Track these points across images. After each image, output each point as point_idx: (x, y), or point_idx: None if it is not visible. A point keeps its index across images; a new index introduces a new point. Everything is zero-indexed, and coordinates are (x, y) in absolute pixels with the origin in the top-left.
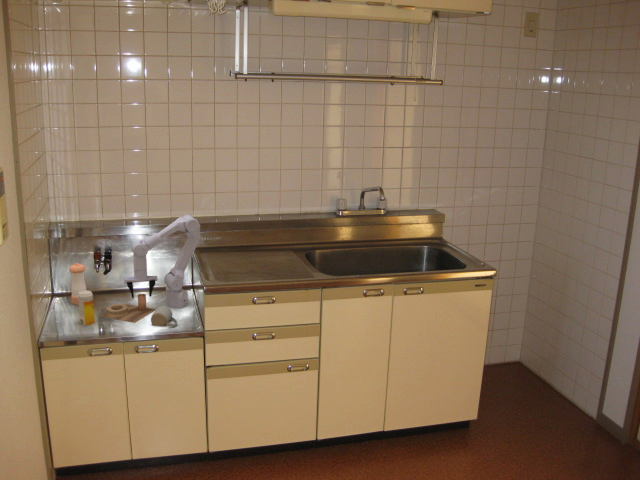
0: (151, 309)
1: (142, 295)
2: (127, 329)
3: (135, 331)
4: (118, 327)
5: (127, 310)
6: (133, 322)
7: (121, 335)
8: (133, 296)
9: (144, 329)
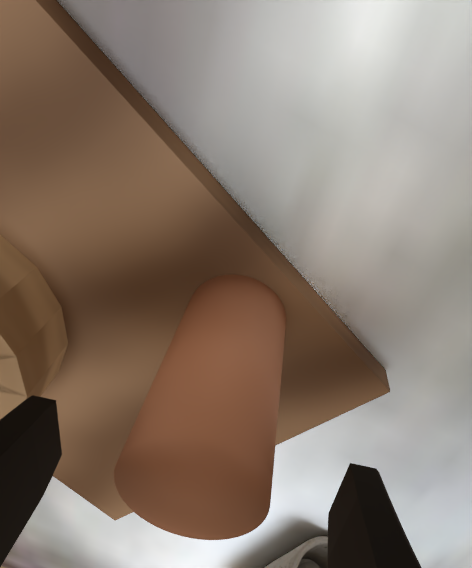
0: (332, 367)
1: (198, 514)
2: (69, 519)
3: (116, 557)
4: None
5: (42, 384)
6: (105, 511)
7: (34, 556)
8: (35, 496)
9: (174, 562)
